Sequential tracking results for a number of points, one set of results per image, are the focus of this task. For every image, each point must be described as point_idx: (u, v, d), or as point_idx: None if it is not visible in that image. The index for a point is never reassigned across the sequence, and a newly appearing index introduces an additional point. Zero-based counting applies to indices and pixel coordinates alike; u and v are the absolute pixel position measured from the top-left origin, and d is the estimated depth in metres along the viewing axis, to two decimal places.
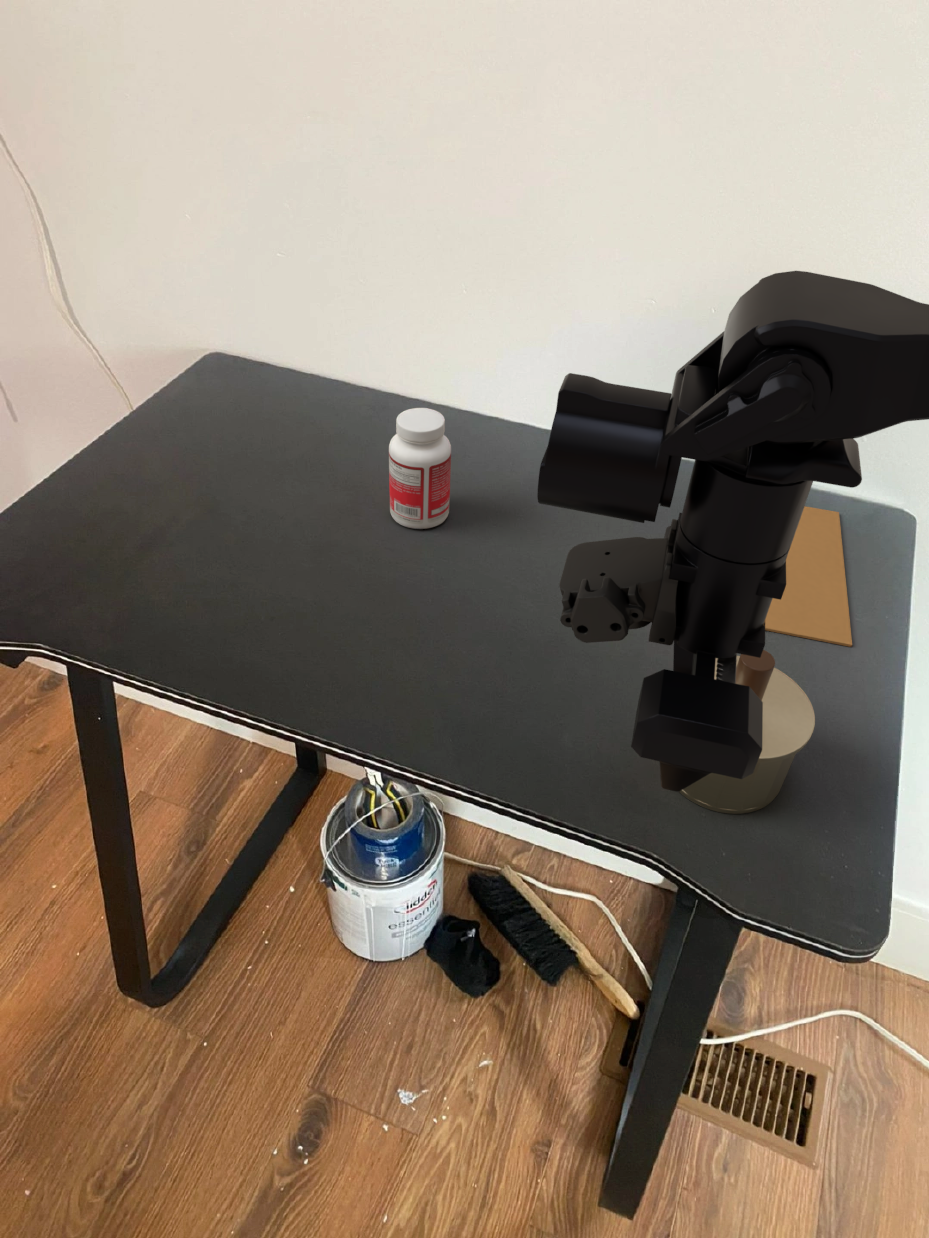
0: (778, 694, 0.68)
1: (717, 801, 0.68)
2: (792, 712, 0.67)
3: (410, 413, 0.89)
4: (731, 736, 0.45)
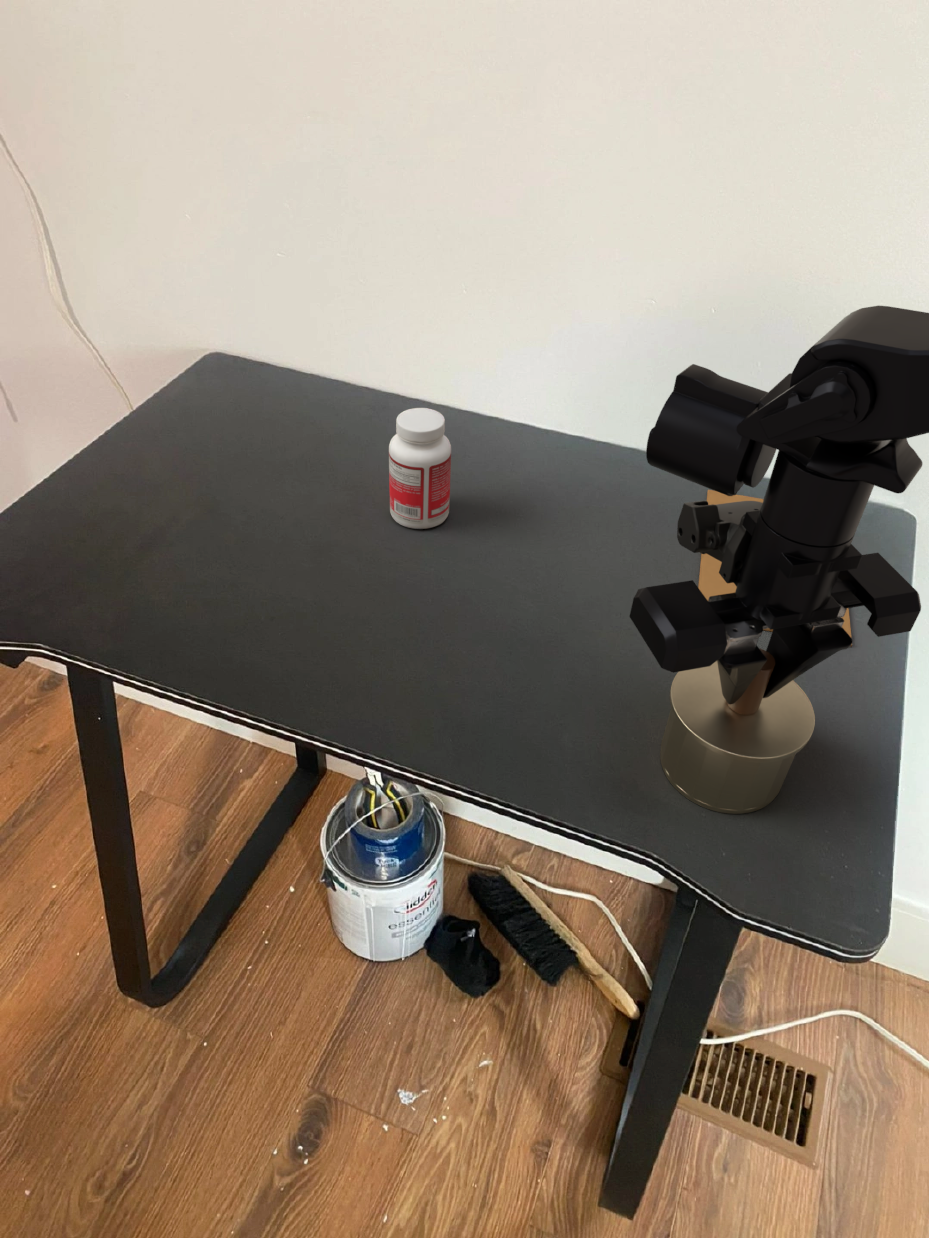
0: (778, 695, 0.68)
1: (717, 801, 0.68)
2: (792, 712, 0.67)
3: (410, 413, 0.89)
4: (666, 626, 0.57)
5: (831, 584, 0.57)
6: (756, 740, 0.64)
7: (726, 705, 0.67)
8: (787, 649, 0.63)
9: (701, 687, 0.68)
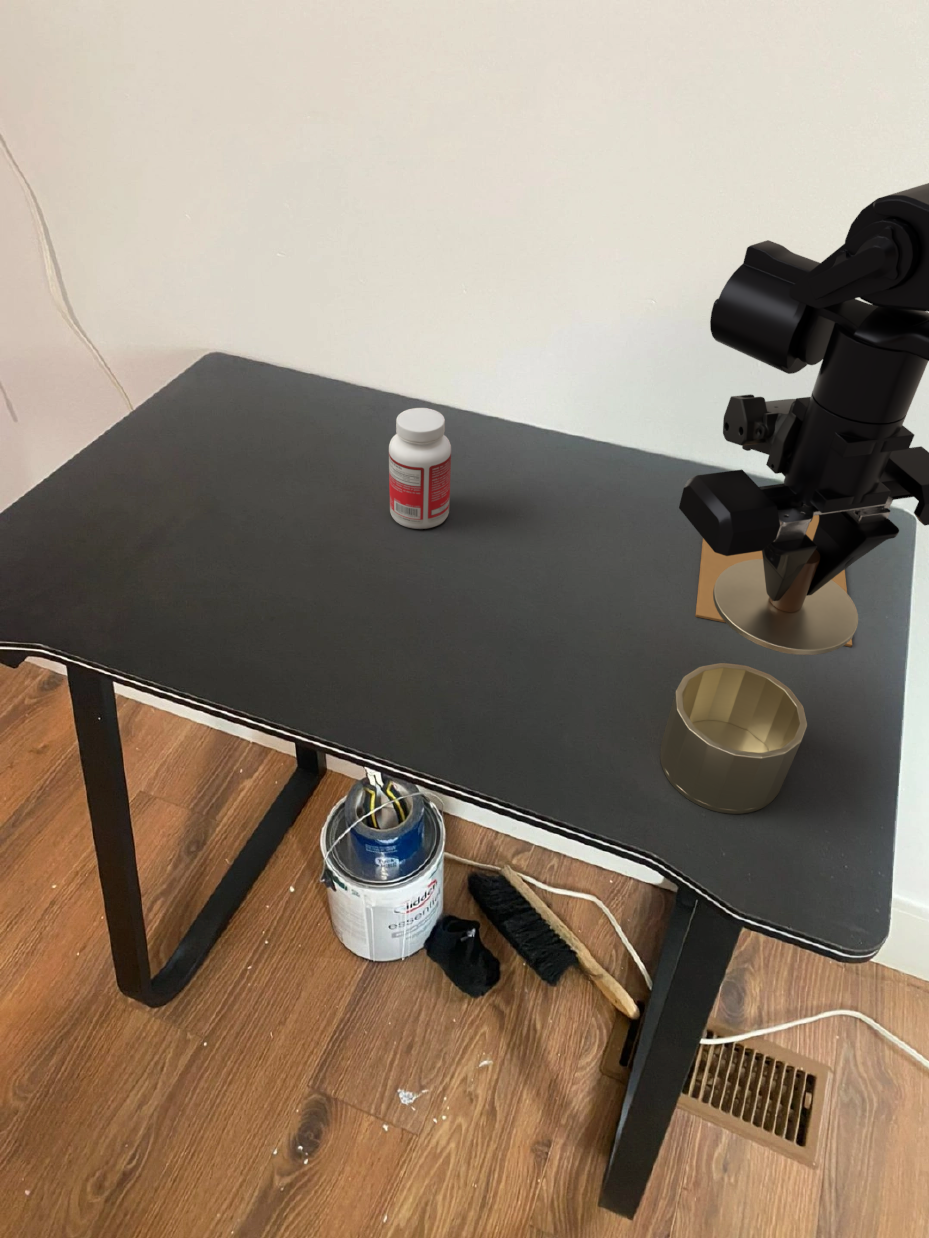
0: (820, 594, 0.69)
1: (717, 801, 0.68)
2: (835, 610, 0.67)
3: (410, 413, 0.89)
4: (720, 509, 0.58)
5: (882, 466, 0.58)
6: (802, 634, 0.65)
7: (770, 603, 0.67)
8: (833, 542, 0.64)
9: (744, 588, 0.69)
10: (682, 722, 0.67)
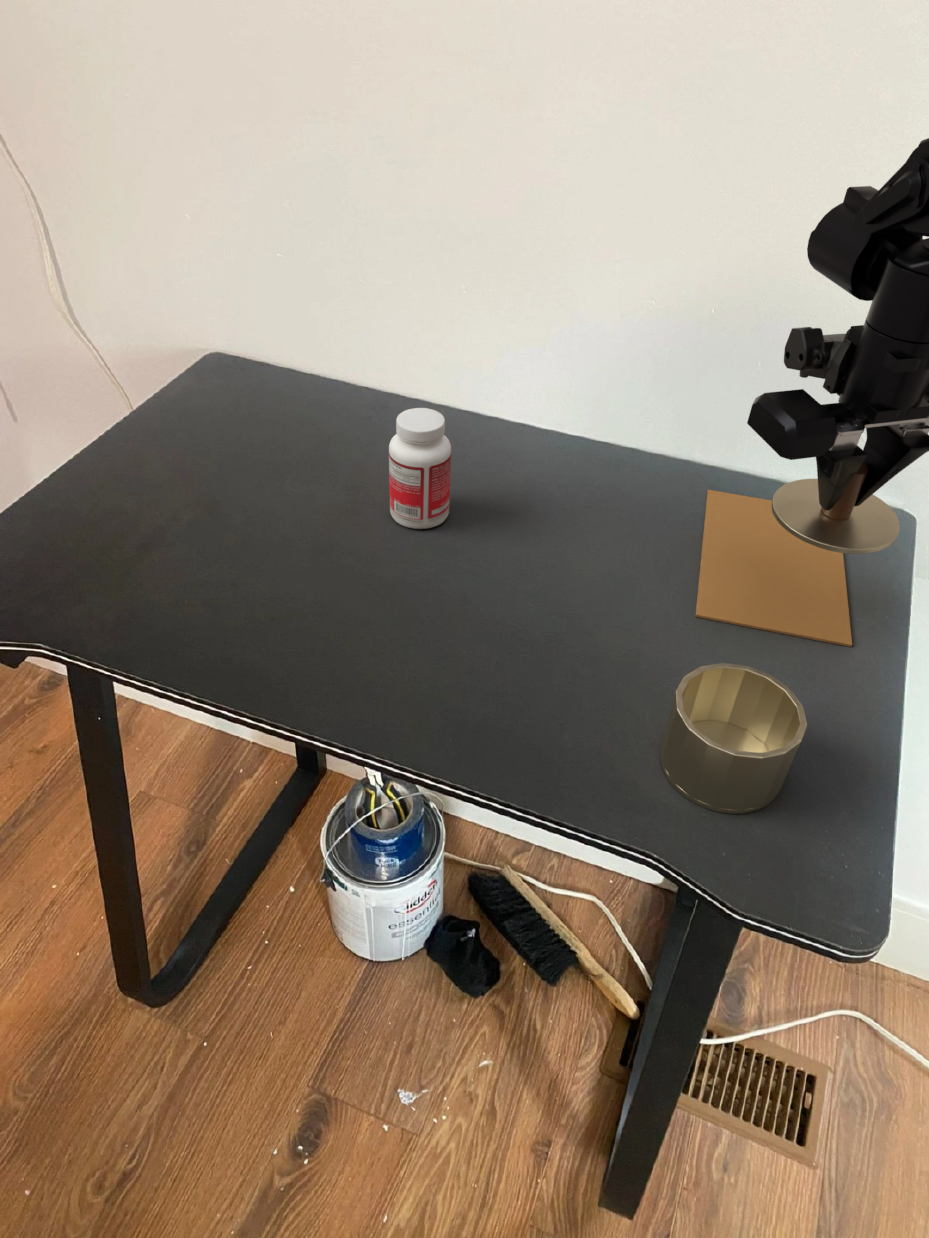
0: (865, 506, 0.78)
1: (717, 801, 0.68)
2: (880, 519, 0.77)
3: (410, 413, 0.89)
4: (786, 419, 0.67)
5: (925, 383, 0.67)
6: (851, 537, 0.75)
7: (822, 513, 0.77)
8: (879, 456, 0.74)
9: (798, 501, 0.79)
10: (682, 722, 0.67)
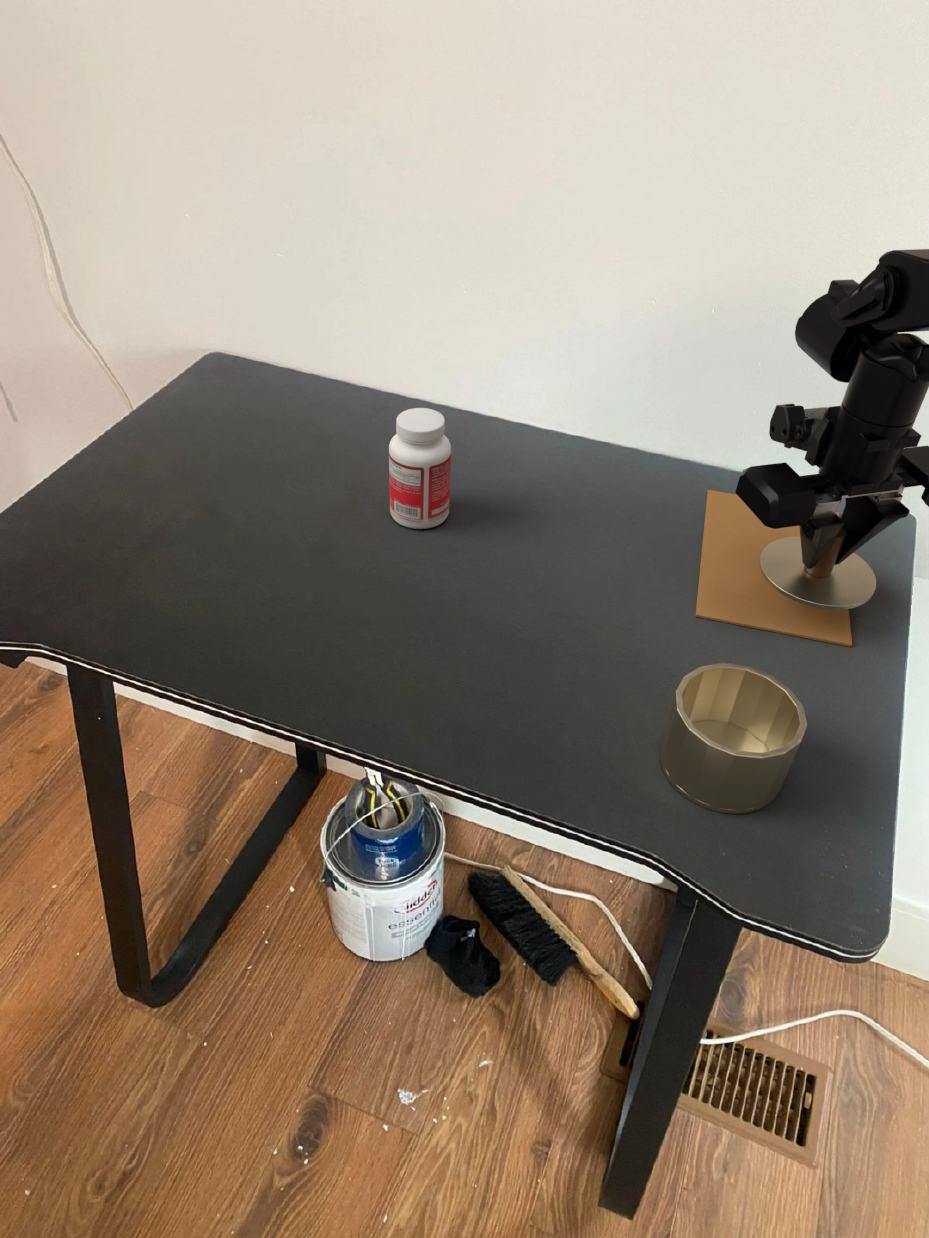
0: (845, 564, 0.85)
1: (717, 801, 0.68)
2: (858, 576, 0.84)
3: (410, 413, 0.89)
4: (769, 492, 0.74)
5: (896, 460, 0.74)
6: (831, 594, 0.82)
7: (805, 570, 0.84)
8: (857, 521, 0.81)
9: (784, 558, 0.85)
10: (682, 722, 0.67)
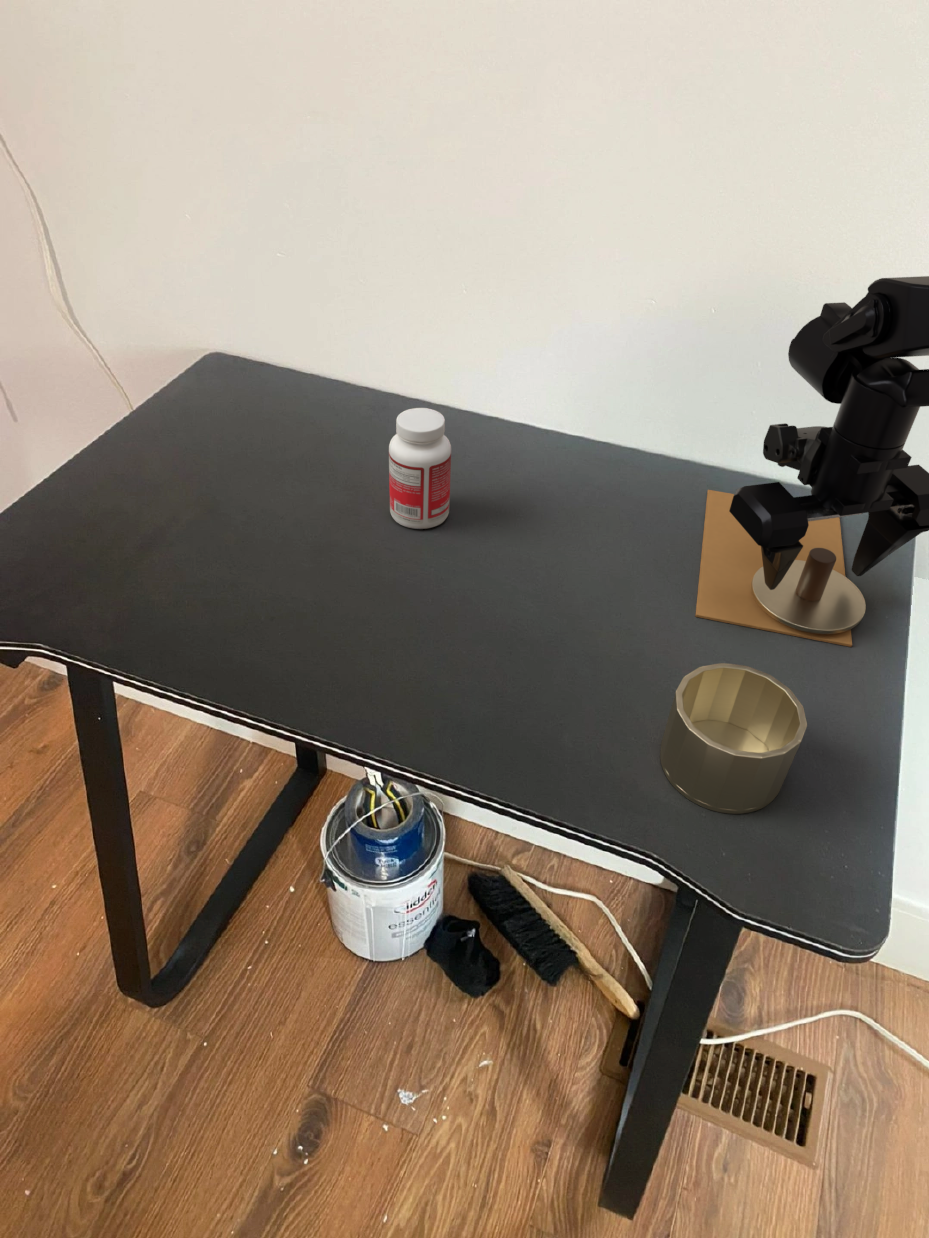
0: (836, 587, 0.87)
1: (717, 801, 0.68)
2: (848, 600, 0.86)
3: (410, 413, 0.89)
4: (762, 512, 0.76)
5: (887, 480, 0.76)
6: (821, 618, 0.84)
7: (796, 594, 0.86)
8: (879, 534, 0.83)
9: None
10: (682, 722, 0.67)
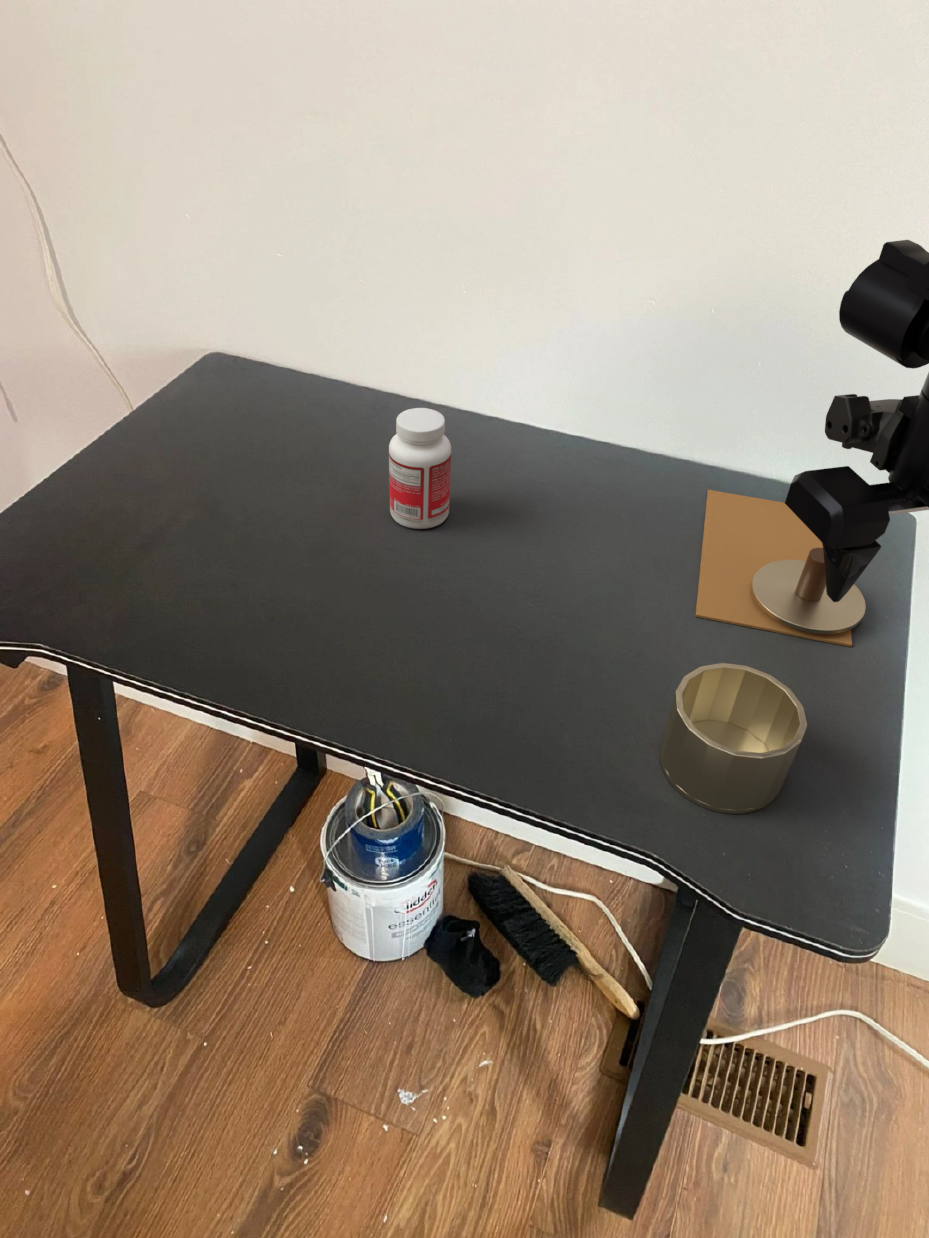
0: None
1: (717, 801, 0.68)
2: (848, 600, 0.86)
3: (410, 413, 0.89)
4: (831, 503, 0.59)
5: None
6: (821, 618, 0.84)
7: (796, 594, 0.86)
8: None
9: (775, 582, 0.87)
10: (682, 722, 0.67)
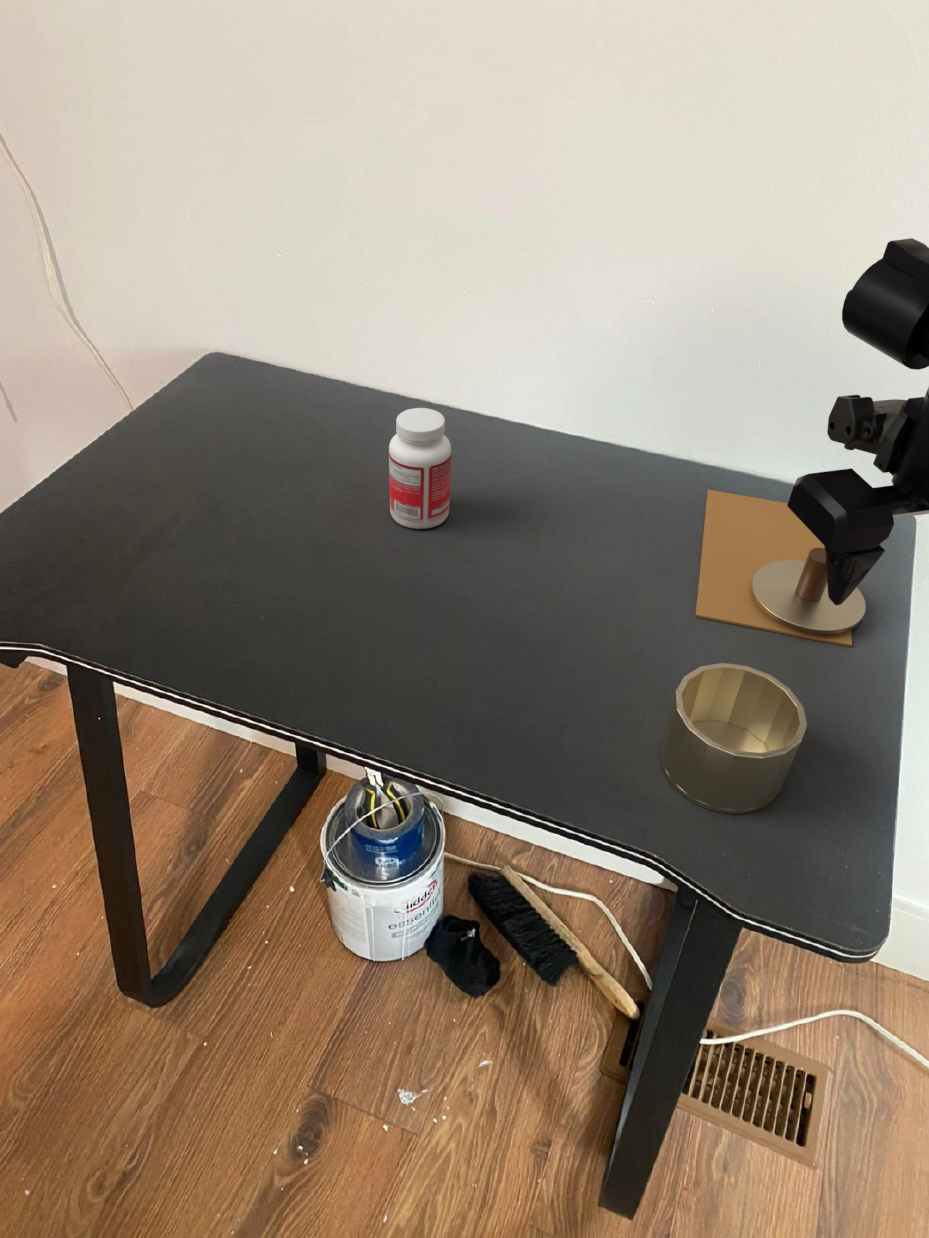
0: None
1: (717, 801, 0.68)
2: (848, 600, 0.86)
3: (410, 413, 0.89)
4: (834, 507, 0.58)
5: None
6: (821, 618, 0.84)
7: (796, 594, 0.86)
8: None
9: (775, 582, 0.87)
10: (682, 722, 0.67)
